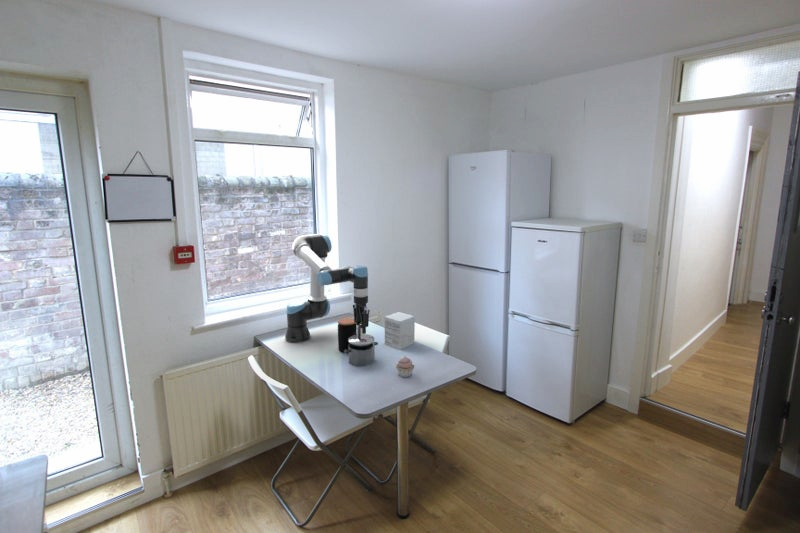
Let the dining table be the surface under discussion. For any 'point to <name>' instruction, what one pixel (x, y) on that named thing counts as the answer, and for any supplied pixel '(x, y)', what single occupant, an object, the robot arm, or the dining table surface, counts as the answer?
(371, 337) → the lid
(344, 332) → the coffee jar
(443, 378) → the dining table surface
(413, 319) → the supplement box
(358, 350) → the pot
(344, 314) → the dining table surface
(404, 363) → the cupcake
